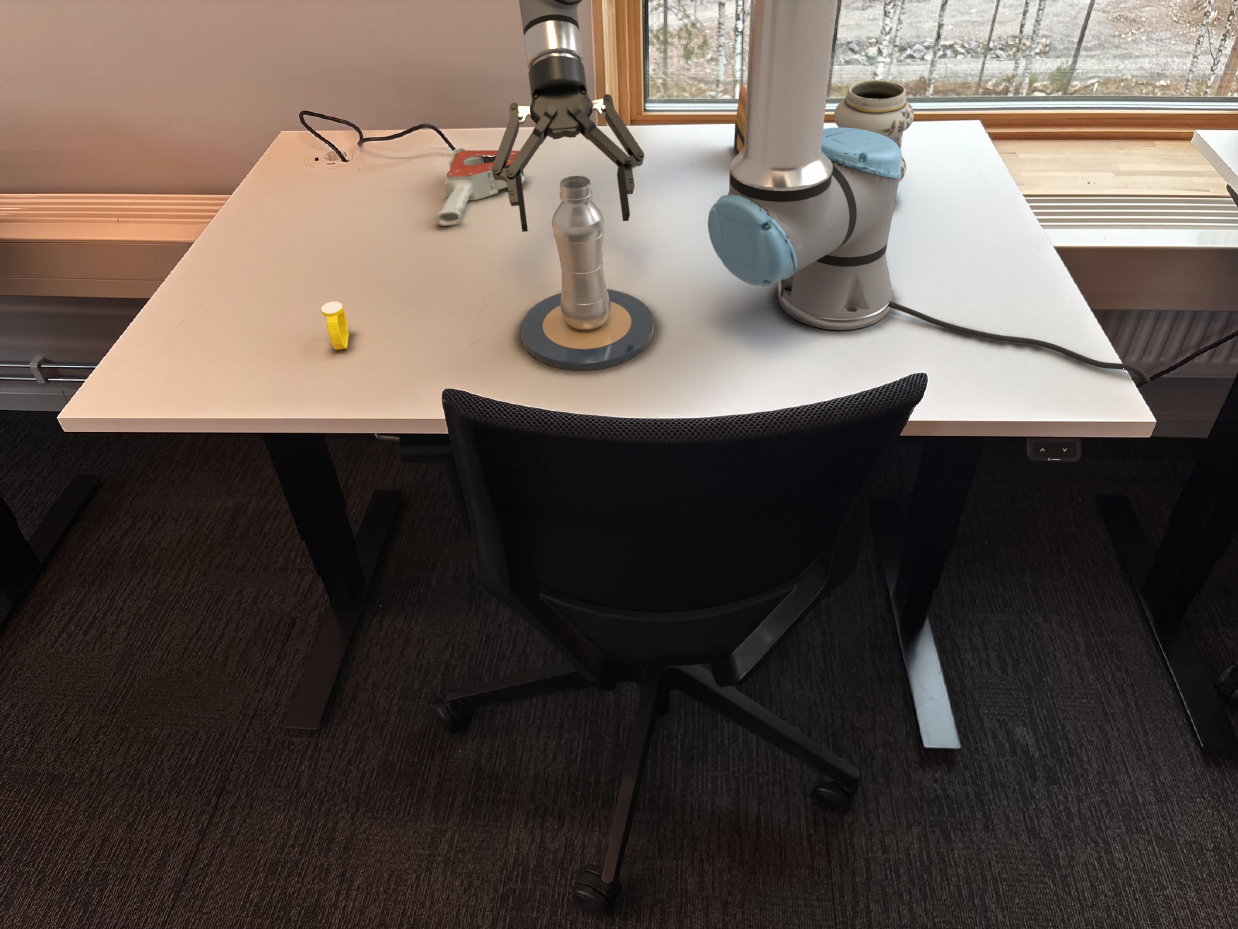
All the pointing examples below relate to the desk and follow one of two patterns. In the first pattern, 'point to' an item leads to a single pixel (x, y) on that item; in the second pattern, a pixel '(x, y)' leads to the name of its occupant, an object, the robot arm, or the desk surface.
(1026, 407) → the desk surface
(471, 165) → the tape dispenser
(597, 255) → the silver metal bottle
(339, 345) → the watch
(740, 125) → the ammunition clip
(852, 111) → the apothecary jar
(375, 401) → the desk surface
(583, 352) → the plate
